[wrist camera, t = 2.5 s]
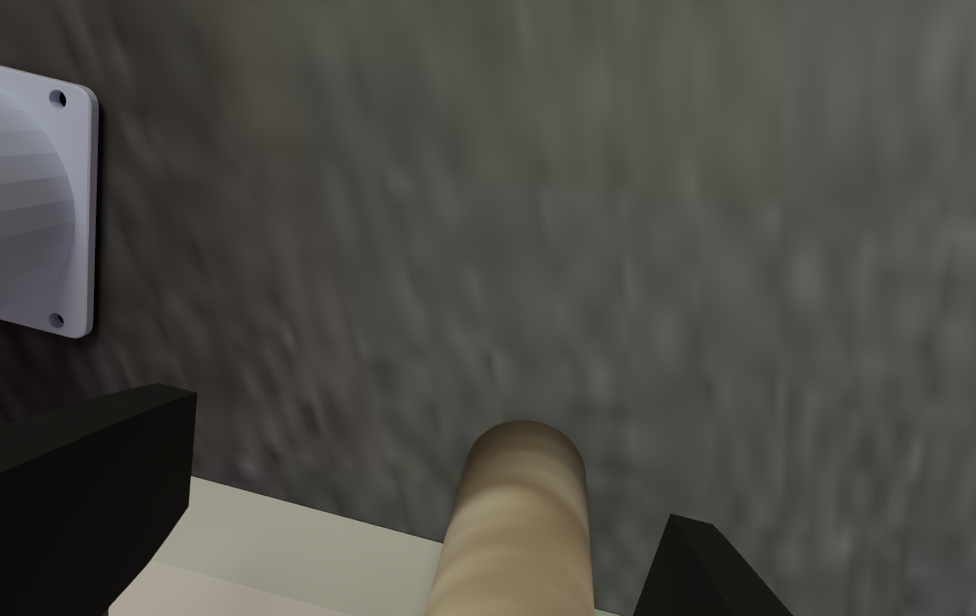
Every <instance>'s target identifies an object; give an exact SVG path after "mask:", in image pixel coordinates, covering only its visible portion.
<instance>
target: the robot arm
mask: <svg viewBox="0 0 976 616" xmlns="http://www.w3.org/2000/svg"><path fill="white" fill-rule="evenodd" d="M61 92H63V94H64V95H65V97H66V105H65V107H64V106H63V105H62V104H61V102H60V98H59V97H60V93H61ZM98 119H99V105H98V100H97V98H96V96H95V94H94V93H93V92H92V91H91V90H90V89H89V88H87V87H84V86H82V85H78V84H74V83H70V82H65V81H61V80H57V79H53V78H49V77H45V76H41V75H37V74H33V73H29V72H25V71H21V70H17V69H13V68H9V67H5V66H1V65H0V319H1V320H5V321H9V322H12V323H16V324H20V325H24V326H28V327H32V328H35V329H39V330H43V331H47V332H51V333H54V334H58V335H62V336H66V337H70V338H80V337H82V336H84V335H86V334H89V332H90V331H91V330H92V327H93V305H94V268H95V231H96V193H97V156H98ZM58 314H59V315H60V316H61V317H62V318H63V321H64V323H62V322H61V321H60V320H59V318H58ZM196 403H197V393H196V392H192V391H188V390H184V389H180V388H176V387H172V386H168V385H164V384H160V383H157V384H151V385H146V386H141V387H136V388H132V389H128V390H124V391H120V392H116V393H112V394H108V395H105V396H101V397H97V398H94V399H90V400H86V401H83V402H79V403H76V404H72V405H69V406H65V407H61V408H58V409H54V410H50V411H47V412H43V413H40V414H36V415H32V416H29V417H25V418H22V419H18V420H14V421H11V422H7V423H4V424H0V616H102V614H103V613H104V612H105V611H106V610H107V609H108V608H109V607H110V606H111V605H112V603H113V602H114V601H115V600H116V599H117V598H118V597H119V596H120V595H121V594H122V592H123V591H124V590H125V589H126V588H127V587H128V586H129V585H130V584H131V583H132V581H133V580H134V579H135V578H136V577H137V576H138V575H139V574H140V572H141V571H142V570H143V569H144V568H145V567H146V566H147V565H148V563H149V562H150V561H151V559H152V558H153V556H154V555H155V554H156V552H157V551H158V550H159V548H160V547H161V546H162V544H163V543H164V542H165V540H166V539H167V537H168V536H169V534H170V533H171V532H172V530H173V529H174V527H175V526H176V524H177V523H178V521H179V520H180V518H181V517H182V516H183V514H184V513H185V511H186V510H187V508H188V507H189V496H190V483H191V470H192V457H193V443H194V430H195V417H196ZM633 616H793V615H792V614H791V613H790V612H789V611H788V609H787V608H786V607H785V606H784V605H783V604H782V602H781V601H780V600H779V599H778V598H777V597H776V596H775V594H774V593H773V592H772V591H771V590H770V589H769V587H768V586H767V585H766V584H765V583H764V582H763V580H762V579H761V578H760V577H759V576H758V575H757V573H756V572H755V571H754V570H753V569H752V568H751V566H750V565H749V564H748V563H747V562H746V561H745V559H744V558H743V557H742V556H741V555H740V554H739V553H738V551H737V550H736V549H735V548H734V547H733V546H732V545H731V543H730V542H729V541H728V540H727V539H726V538H725V537H724V536H723V535H722V534H721V533H720V532H719V531H718V529H717V528H716V527H715V526H714V525H713V524H709V523H705V522H702V521H698V520H694V519H690V518H686V517H682V516H678V515H674V514H670V517H669V519H668V522H667V525H666V527H665V530H664V533H663V536H662V538H661V541H660V544H659V546H658V549H657V552H656V554H655V557H654V560H653V563H652V565H651V568H650V571H649V573H648V576H647V579H646V582H645V584H644V587H643V590H642V592H641V595H640V598H639V601H638V603H637V606H636V609H635V611H634V614H633Z"/></svg>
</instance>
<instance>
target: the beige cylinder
mask: <svg viewBox="0 0 976 616" xmlns="http://www.w3.org/2000/svg"><path fill="white" fill-rule="evenodd" d="M424 616H595V613H594V598H593V582H592V567H591V552H590V537H589V522H588V506H587V491H586V476H585V467H584V462H583V460H582V457H581V455H580V453H579V451H578V449H577V448H576V447H575V445H574V444H573V443H572V442H571V441H570V440H569V439H568V438H567V437H566V436H565V435H564V434H562V433H561V432H559V431H558V430H556V429H555V428H552V427H550V426H548V425H545V424H542V423H539V422H534V421H524V420H523V421H511V422H506V423H503V424H499V425H497V426H495V427H493V428H491V429H489V430H488V431H486V432H485V433H484V434H482V435H481V436H480V437H479V438H478V439H477V440H476V441H475V443H474V444H473V446H472V447H471V449H470V451H469V453H468V456H467V459H466V463H465V467H464V470H463V474H462V478H461V481H460V485H459V489H458V492H457V496H456V500H455V503H454V507H453V511H452V515H451V518H450V522H449V526H448V529H447V533H446V537H445V540H444V544H443V548H442V551H441V555H440V559H439V562H438V566H437V570H436V573H435V577H434V581H433V584H432V588H431V592H430V595H429V599H428V603H427V606H426V610H425V614H424Z"/></svg>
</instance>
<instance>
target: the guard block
mask: <svg viewBox="0 0 976 616" xmlns="http://www.w3.org/2000/svg"><path fill="white" fill-rule="evenodd" d="M442 548H443V544H442V543H438V542H435V541H431V540H427V539H423V538H420V537H416V536H412V535H409V534H405V533H401V532H397V531H394V530H390V529H386V528H382V527H379V526H375V525H371V524H368V523H364V522H360V521H356V520H353V519H349V518H345V517H341V516H338V515H334V514H330V513H327V512H323V511H319V510H315V509H312V508H308V507H304V506H300V505H297V504H293V503H289V502H286V501H282V500H278V499H274V498H271V497H267V496H263V495H259V494H256V493H252V492H248V491H244V490H241V489H237V488H233V487H230V486H226V485H222V484H218V483H215V482H211V481H207V480H203V479H200V478H196V477H192V476H191V483H190V496H189V507H188V508H187V510H186V511H185V513H184V514H183V516H182V517H181V518H180V520H179V521H178V523H177V524H176V526H175V527H174V529H173V530H172V532H171V533H170V534H169V536H168V537H167V539H166V540H165V542H164V543H163V544H162V546H161V547H160V548H159V550H158V551H157V552H156V554H155V555H154V556H153V558H152V559H151V561H150V562H149V563H148V565H147V566H146V567H145V568H144V569H143V570H142V571H141V572H140V574H139V575H138V576H137V577H136V578H135V579H134V580H133V581H132V583H131V584H130V585H129V586H128V587H127V588H126V589H125V590H124V591H123V592H122V594H121V595H120V596H119V597H118V598H117V599H116V600H115V601H114V602H113V603H112V605H111V606H110V607H109V616H424V614H425V610H426V606H427V603H428V599H429V595H430V592H431V588H432V584H433V581H434V577H435V573H436V570H437V566H438V562H439V559H440V555H441V551H442Z"/></svg>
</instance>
